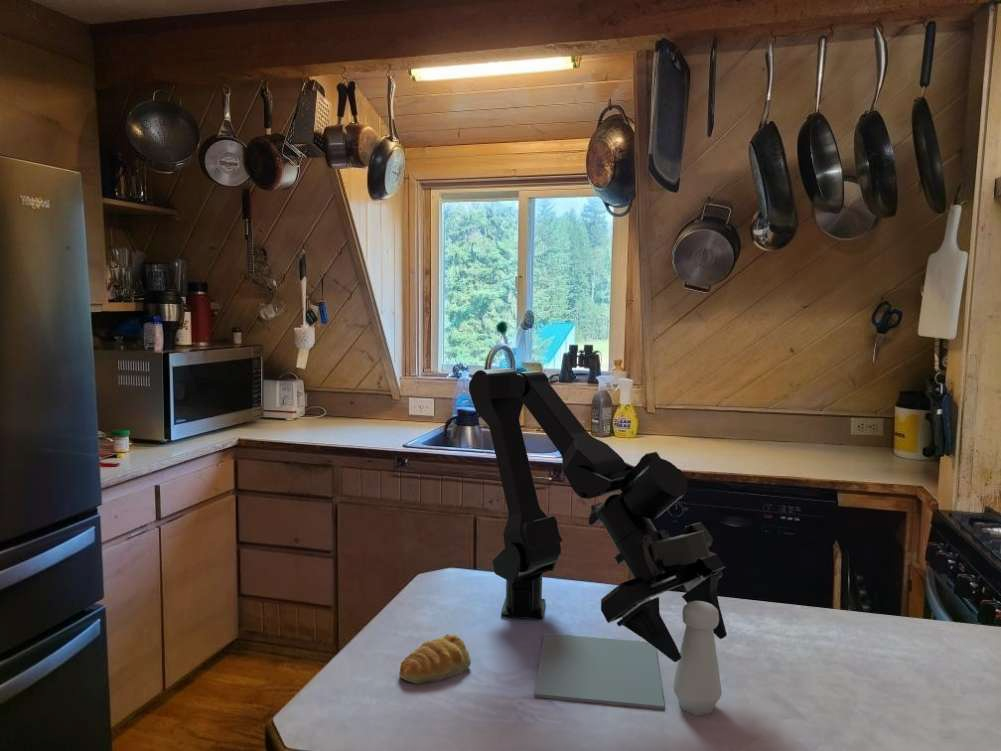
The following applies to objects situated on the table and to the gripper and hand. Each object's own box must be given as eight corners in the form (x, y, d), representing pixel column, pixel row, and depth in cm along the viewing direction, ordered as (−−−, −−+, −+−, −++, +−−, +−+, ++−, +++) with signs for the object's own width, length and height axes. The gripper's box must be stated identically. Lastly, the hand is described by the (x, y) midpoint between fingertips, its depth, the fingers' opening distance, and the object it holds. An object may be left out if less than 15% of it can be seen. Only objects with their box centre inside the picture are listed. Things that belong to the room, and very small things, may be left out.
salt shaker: (723, 699, 90) (729, 600, 88) (717, 724, 84) (723, 620, 83) (676, 688, 92) (681, 591, 90) (667, 711, 87) (672, 610, 85)
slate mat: (544, 635, 105) (544, 633, 105) (655, 645, 103) (655, 642, 103) (533, 696, 90) (533, 693, 90) (664, 709, 87) (664, 706, 87)
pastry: (417, 695, 90) (417, 666, 90) (388, 673, 95) (388, 646, 95) (475, 669, 96) (475, 642, 96) (444, 650, 101) (444, 625, 101)
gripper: (621, 519, 83) (696, 645, 76) (715, 492, 95) (788, 600, 88) (572, 563, 90) (636, 683, 83) (665, 533, 102) (729, 636, 95)
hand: (701, 648), depth 87 cm, fingers open, 9 cm apart
